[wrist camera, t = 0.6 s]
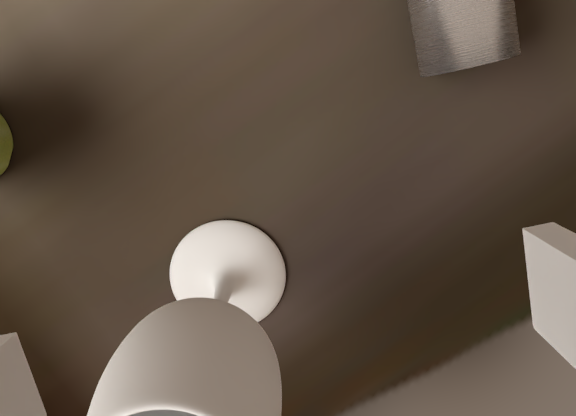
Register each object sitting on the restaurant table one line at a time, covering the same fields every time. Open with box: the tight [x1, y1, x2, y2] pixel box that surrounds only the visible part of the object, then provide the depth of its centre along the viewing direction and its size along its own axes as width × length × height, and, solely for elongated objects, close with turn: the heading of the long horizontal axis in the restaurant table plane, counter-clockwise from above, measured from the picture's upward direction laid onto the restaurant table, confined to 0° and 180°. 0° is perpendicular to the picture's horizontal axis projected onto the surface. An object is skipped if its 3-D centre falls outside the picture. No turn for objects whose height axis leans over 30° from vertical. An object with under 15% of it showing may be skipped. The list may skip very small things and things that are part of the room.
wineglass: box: [87, 220, 286, 416], centre depth 29 cm, size 9×9×21 cm
